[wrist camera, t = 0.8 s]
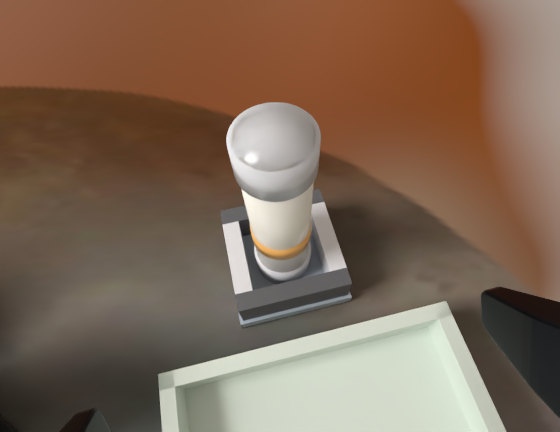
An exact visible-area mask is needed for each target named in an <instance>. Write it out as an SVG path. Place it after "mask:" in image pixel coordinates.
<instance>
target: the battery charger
mask: <svg viewBox="0 0 560 432" xmlns="http://www.w3.org/2000/svg"><path fill="white" fill-rule="evenodd" d="M0 432H17V430H16V429H15V428H14V427H13V426H12V425H11V424H10V423H9V422H8V421H7V420H5V419H4V418H3V417H2V416H1V415H0Z"/></svg>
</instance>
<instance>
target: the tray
mask: <svg viewBox="0 0 560 432" xmlns="http://www.w3.org/2000/svg"><path fill="white" fill-rule="evenodd" d="M158 380H159V394H160V408H161V422H162V432H506V430H505V427H504V425H503V423H502V421H501V419H500V417H499V415H498V412H497V410H496V408H495V406H494V404H493V402H492V399H491V397H490V395H489V393H488V391H487V389H486V386H485V384H484V382H483V380H482V378H481V376H480V374H479V371H478V369H477V367H476V365H475V363H474V361H473V358H472V356H471V354H470V352H469V350H468V348H467V345H466V343H465V341H464V339H463V337H462V335H461V333H460V330H459V328H458V326H457V324H456V322H455V320H454V317H453V315H452V313H451V311H450V309H449V307H448V304H447V302H446V301H444V302H440V303H436V304H432V305H428V306H425V307H421V308H417V309H413V310H409V311H405V312H401V313H397V314H393V315H389V316H385V317H381V318H377V319H373V320H369V321H366V322H362V323H358V324H354V325H350V326H346V327H342V328H338V329H334V330H330V331H326V332H322V333H318V334H314V335H310V336H307V337H303V338H299V339H295V340H291V341H287V342H283V343H279V344H275V345H271V346H267V347H263V348H259V349H255V350H252V351H248V352H244V353H240V354H236V355H232V356H228V357H224V358H220V359H216V360H212V361H208V362H204V363H200V364H196V365H193V366H189V367H185V368H181V369H177V370H173V371H169V372H165V373H161V374H158Z"/></svg>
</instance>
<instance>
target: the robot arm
mask: <svg viewBox="0 0 560 432" xmlns="http://www.w3.org/2000/svg"><path fill="white" fill-rule="evenodd" d="M481 320H482V324H483V326H484V328H485V330H486V331H487V333H488V334H489V335H490V336H491V338H492V339H493V340H494V342H495V343H496V344H497V345H498V347H499V348H500V349H501V351H502V352H503V353H504V354H505V356H506V357H507V358H508V360H509V361H510V362H511V363H512V365H513V366H514V367H515V369H516V370H517V371H518V372H519V374H520V375H521V376H522V378H523V379H524V380H525V381H526V382H527V384H528V385H529V386H530V387H531V388H532V389H533V390H534V392H535V393H536V394H537V395H538V396H539V397H540V398H541V399H542V400H543V401H544V402H545V403H546V405H547V406H548V407H549V408H550V409H551V410H552V411H553V412H554V413H555V414H556V415H557V416H558V417H559V418H560V302H557V301H553V300H549V299H545V298H542V297H538V296H534V295H530V294H526V293H522V292H519V291H515V290H511V289H507V288H503V287H495V288H492V289H488V290H485V291H484V292H482V294H481ZM59 432H111V430H110V428H109V427H108V425H107V423H106V421H105V419H104V417H103V415H102V413H101V411H100V410H99V409H97V408H92V409H88V410H85V411H82V412H79V413H77V414H75V415H74V416H73V417H72V418H71V420H70V421H69V422H68V423H67V424H66V425H65V426H64V427H63V428H62V429H61V430H60V431H59Z"/></svg>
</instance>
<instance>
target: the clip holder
mask: <svg viewBox="0 0 560 432" xmlns="http://www.w3.org/2000/svg"><path fill="white" fill-rule="evenodd" d="M220 214H221V219H222V225H223V230H224V236H225V241H226V247H227V252H228V258H229V263H230V269H231V274H232V280H233V285H234V291H235V296H236V302H237V307H238V313H239V318H240V324H241V326H242V328H243V327H248V326H252V325H256V324H260V323H264V322H268V321H272V320H276V319H280V318H284V317H288V316H292V315H296V314H300V313H304V312H308V311H312V310H316V309H320V308H324V307H328V306H332V305H336V304H340V303H344V302H348V301H350V300H351V298H352V296H351V293H350V288H351V286H352V281H351V278H350V275H349V272H348V269H347V267H346V264H345V261H344V258H343V255H342V252H341V249H340V246H339V243H338V241H337V238H336V235H335V232H334V229H333V226H332V223H331V220H330V217H329V215H328V212H327V209H326V206H325V203H324V200H323V197H322V194H321V191H320V189H317V190H313V196H312V210H311V236H310V243H311V258H310V265H309V268H308V271H307V272H306V274H305V275H304V276H303V277H302V278H301V279H297V280H293V281H289V282H285V283H281V284H275V283H272V282H270V281H268V280H267V279H266V278H264V277H263V276H262V274H261V273H260V271H259V269H258V266H257V262H256V258H255V254H254V242H253V239H252V235H251V230H250V222H249V218H248V214H247V210H246V206H241V207H237V208H232V209H228V210H223V211H220Z"/></svg>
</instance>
